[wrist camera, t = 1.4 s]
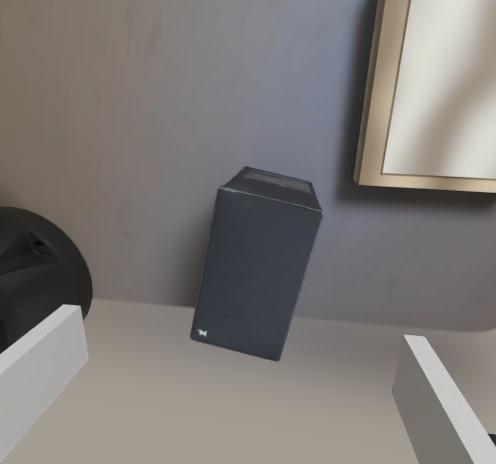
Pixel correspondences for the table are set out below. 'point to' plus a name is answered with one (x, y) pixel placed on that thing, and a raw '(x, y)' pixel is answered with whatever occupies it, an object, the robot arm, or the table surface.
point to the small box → (256, 262)
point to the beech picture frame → (430, 97)
